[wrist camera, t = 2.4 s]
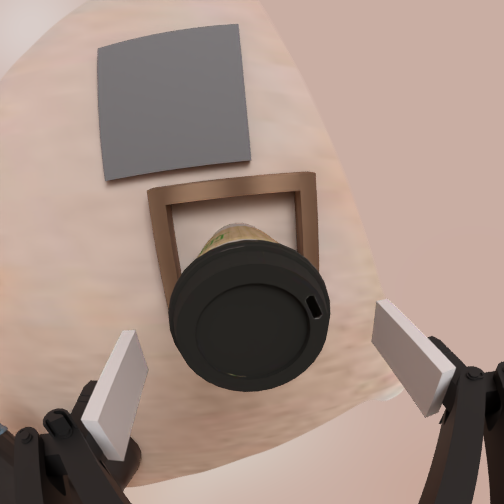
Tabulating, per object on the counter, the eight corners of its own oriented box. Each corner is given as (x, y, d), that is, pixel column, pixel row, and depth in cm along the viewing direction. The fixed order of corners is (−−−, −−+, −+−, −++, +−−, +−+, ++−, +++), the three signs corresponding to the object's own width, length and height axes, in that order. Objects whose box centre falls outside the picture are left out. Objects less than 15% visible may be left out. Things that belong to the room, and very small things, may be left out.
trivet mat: (108, 180, 27) (105, 181, 26) (101, 51, 23) (97, 48, 22) (250, 160, 28) (251, 160, 27) (237, 27, 24) (238, 23, 23)
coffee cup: (171, 233, 29) (128, 302, 15) (261, 186, 29) (301, 215, 14) (218, 312, 32) (219, 417, 18) (301, 272, 32) (358, 356, 17)
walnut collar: (178, 325, 32) (175, 338, 30) (153, 188, 28) (146, 190, 25) (312, 309, 33) (318, 320, 31) (307, 171, 29) (315, 172, 26)
